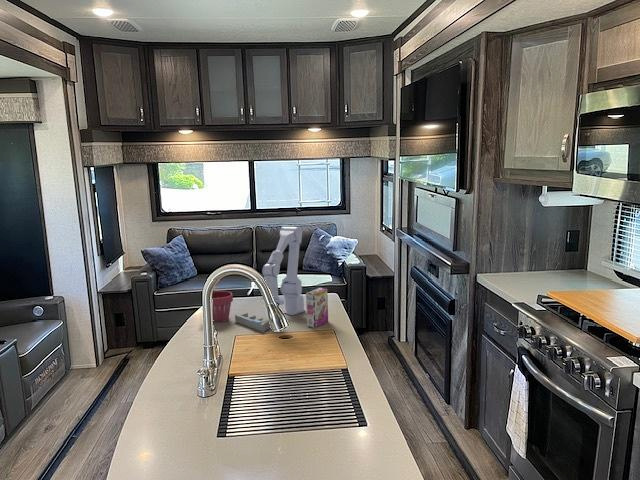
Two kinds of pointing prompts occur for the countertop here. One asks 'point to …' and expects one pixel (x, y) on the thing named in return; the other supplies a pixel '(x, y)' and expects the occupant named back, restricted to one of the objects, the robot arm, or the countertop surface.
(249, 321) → the grey comb rack
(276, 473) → the countertop surface
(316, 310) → the candy bar box
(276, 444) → the countertop surface
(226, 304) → the plant pot
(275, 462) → the countertop surface
